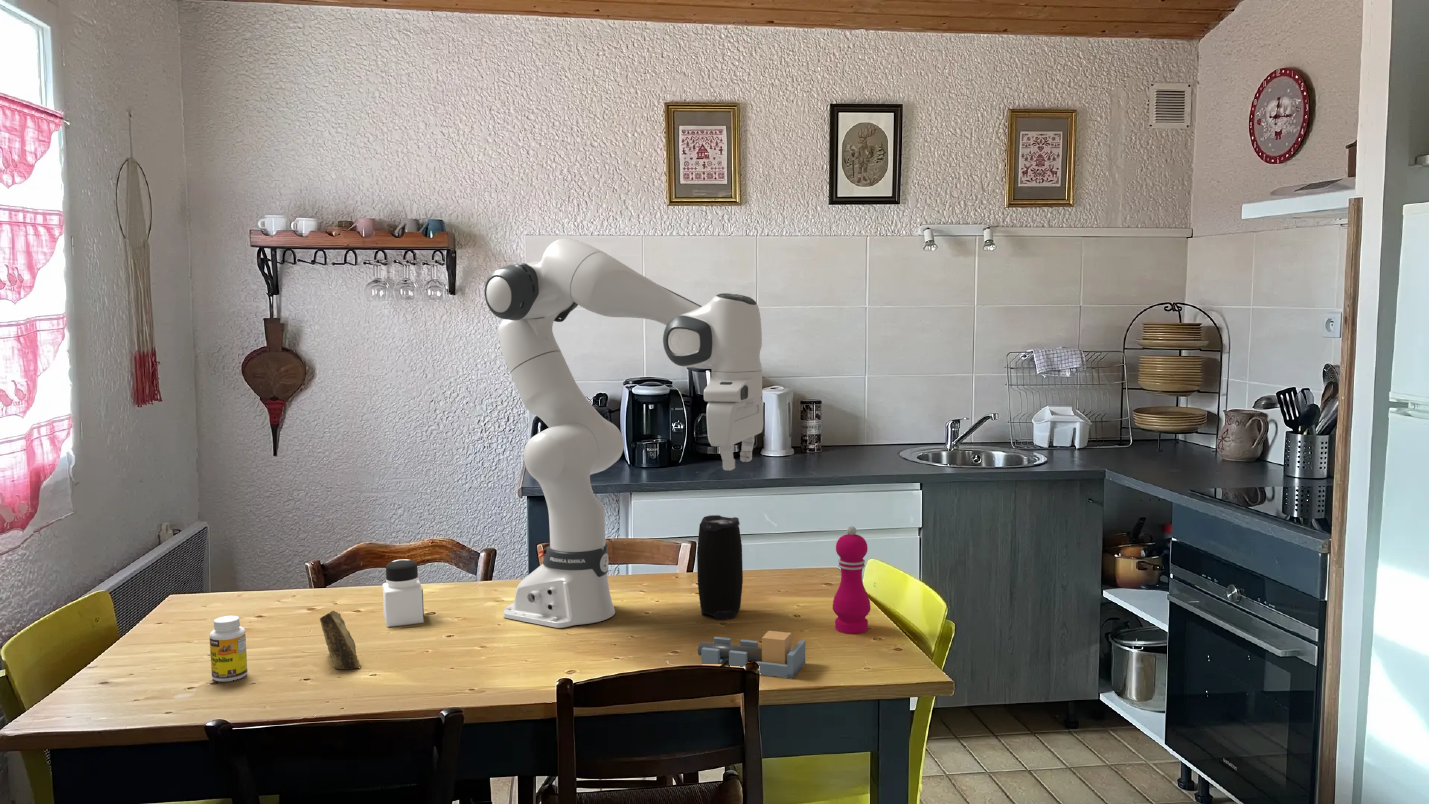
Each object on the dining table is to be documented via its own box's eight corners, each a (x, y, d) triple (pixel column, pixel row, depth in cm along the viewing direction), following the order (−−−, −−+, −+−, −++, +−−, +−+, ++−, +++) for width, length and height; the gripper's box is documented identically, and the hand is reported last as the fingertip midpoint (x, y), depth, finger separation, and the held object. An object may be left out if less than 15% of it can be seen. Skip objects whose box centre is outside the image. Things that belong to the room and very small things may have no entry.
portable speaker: (750, 611, 214) (750, 516, 212) (724, 624, 206) (724, 525, 204) (715, 605, 219) (715, 512, 217) (689, 616, 211) (688, 520, 209)
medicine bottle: (424, 623, 209) (421, 563, 208) (386, 627, 206) (384, 567, 205) (420, 613, 215) (417, 555, 214) (383, 617, 213) (381, 559, 212)
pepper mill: (869, 635, 198) (869, 531, 196) (830, 633, 200) (830, 529, 197) (871, 624, 205) (871, 522, 203) (834, 622, 207) (834, 521, 204)
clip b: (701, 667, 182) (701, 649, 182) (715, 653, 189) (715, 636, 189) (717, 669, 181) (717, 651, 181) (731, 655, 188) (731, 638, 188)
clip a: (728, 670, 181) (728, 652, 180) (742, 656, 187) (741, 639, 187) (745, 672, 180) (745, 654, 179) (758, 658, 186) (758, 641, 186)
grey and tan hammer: (696, 658, 184) (696, 630, 184) (704, 651, 188) (704, 624, 188) (784, 668, 179) (784, 640, 178) (791, 661, 183) (790, 633, 182)
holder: (753, 674, 179) (753, 651, 178) (767, 658, 186) (766, 636, 186) (793, 678, 176) (793, 655, 176) (805, 663, 184) (805, 640, 183)
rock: (315, 639, 193) (294, 649, 183) (343, 601, 193) (325, 609, 183) (362, 674, 193) (345, 687, 183) (391, 636, 193) (375, 646, 183)
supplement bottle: (204, 682, 178) (201, 623, 177) (225, 670, 183) (221, 613, 182) (235, 683, 177) (231, 624, 176) (254, 672, 182) (251, 614, 181)
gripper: (738, 381, 195) (739, 455, 196) (699, 392, 176) (700, 474, 177) (771, 382, 193) (771, 457, 194) (735, 392, 174) (736, 475, 175)
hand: (737, 465), depth 186 cm, fingers open, 8 cm apart
